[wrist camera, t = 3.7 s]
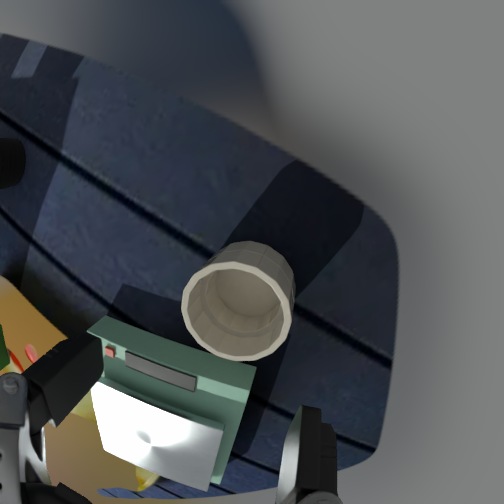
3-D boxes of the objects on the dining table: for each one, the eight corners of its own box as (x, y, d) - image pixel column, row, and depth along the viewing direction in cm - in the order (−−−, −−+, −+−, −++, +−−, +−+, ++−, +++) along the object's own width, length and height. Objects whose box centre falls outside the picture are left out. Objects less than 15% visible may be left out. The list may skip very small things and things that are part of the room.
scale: (256, 366, 23) (249, 393, 20) (226, 464, 28) (219, 486, 25) (105, 314, 25) (84, 331, 22) (115, 422, 30) (102, 440, 27)
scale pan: (226, 424, 21) (223, 431, 20) (209, 486, 25) (206, 491, 24) (93, 371, 22) (88, 376, 21) (107, 445, 26) (103, 449, 25)
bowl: (305, 252, 20) (304, 279, 15) (282, 330, 22) (274, 372, 17) (216, 229, 21) (188, 248, 16) (202, 308, 23) (176, 343, 18)
